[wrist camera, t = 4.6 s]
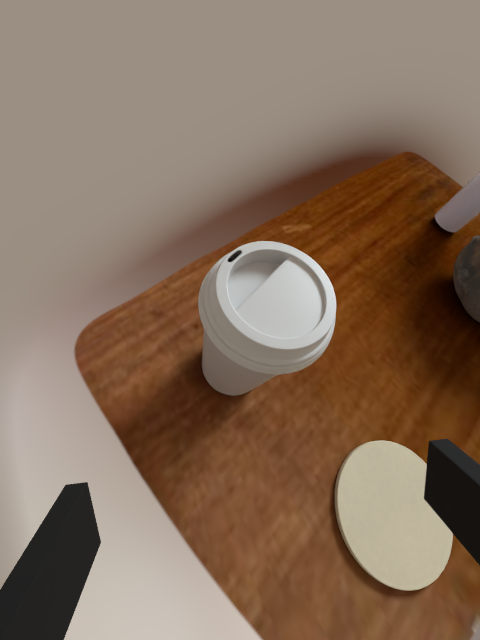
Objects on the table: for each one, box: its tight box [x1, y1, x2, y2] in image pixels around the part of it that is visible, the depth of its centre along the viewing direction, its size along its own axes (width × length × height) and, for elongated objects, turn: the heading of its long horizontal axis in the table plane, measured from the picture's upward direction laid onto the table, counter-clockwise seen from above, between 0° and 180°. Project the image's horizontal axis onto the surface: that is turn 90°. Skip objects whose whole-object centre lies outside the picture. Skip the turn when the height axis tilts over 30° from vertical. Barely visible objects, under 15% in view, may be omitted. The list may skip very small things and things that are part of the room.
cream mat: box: [334, 441, 453, 591], centre depth 29 cm, size 12×12×1 cm
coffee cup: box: [198, 241, 336, 396], centre depth 25 cm, size 10×10×15 cm
